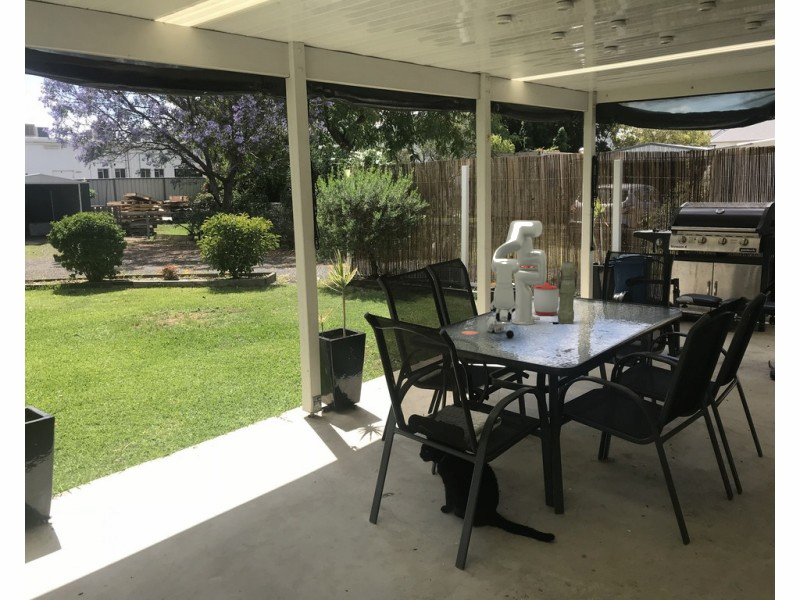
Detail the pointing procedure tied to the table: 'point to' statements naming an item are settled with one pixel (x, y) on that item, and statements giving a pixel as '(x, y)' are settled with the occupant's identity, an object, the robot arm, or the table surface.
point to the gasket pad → (469, 332)
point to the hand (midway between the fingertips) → (503, 320)
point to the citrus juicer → (546, 299)
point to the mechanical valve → (498, 327)
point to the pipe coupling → (503, 316)
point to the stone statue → (566, 292)
